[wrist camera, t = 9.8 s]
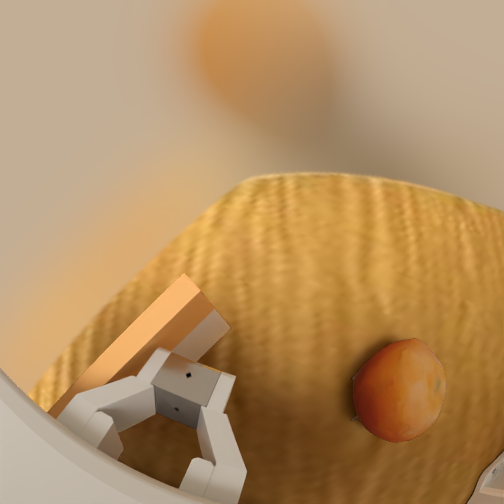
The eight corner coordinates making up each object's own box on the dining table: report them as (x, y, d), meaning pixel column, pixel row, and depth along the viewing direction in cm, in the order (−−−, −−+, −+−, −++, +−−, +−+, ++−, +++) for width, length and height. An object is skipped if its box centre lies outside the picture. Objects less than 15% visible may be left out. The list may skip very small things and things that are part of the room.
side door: (221, 319, 21) (179, 268, 9) (232, 329, 21) (205, 295, 8) (83, 448, 16) (-18, 484, 4) (91, 458, 16) (-6, 501, 3)
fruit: (314, 367, 19) (408, 348, 13) (370, 343, 23) (444, 321, 17) (333, 456, 16) (423, 461, 10) (385, 417, 21) (459, 408, 14)
